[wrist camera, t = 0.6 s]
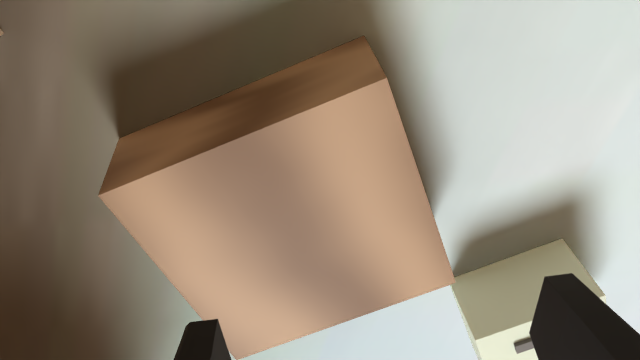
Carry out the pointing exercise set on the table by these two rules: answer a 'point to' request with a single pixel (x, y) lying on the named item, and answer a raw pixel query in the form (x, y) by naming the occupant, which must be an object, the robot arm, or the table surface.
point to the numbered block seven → (512, 299)
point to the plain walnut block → (283, 202)
